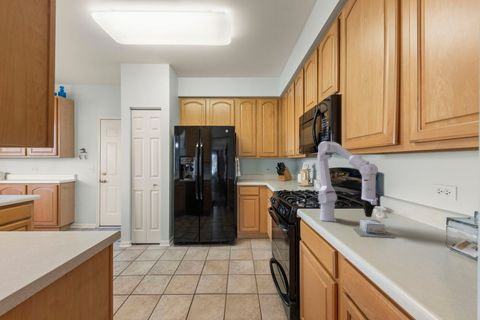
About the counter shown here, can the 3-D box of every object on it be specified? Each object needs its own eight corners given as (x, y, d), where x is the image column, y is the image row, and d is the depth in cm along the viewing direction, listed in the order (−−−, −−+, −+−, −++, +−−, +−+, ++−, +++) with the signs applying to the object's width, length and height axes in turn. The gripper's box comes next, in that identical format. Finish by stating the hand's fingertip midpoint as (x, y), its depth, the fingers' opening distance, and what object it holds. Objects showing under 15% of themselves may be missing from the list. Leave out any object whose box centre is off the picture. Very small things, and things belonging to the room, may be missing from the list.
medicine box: (376, 219, 114) (385, 224, 105) (376, 228, 114) (385, 234, 105) (359, 219, 115) (367, 223, 106) (359, 228, 115) (367, 233, 106)
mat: (352, 228, 115) (352, 228, 115) (384, 230, 112) (384, 229, 112) (360, 236, 104) (360, 235, 104) (394, 238, 101) (394, 237, 101)
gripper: (384, 191, 105) (383, 221, 105) (372, 187, 119) (371, 213, 120) (367, 190, 107) (366, 220, 107) (357, 186, 121) (356, 212, 121)
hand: (368, 216), depth 113 cm, fingers closed
